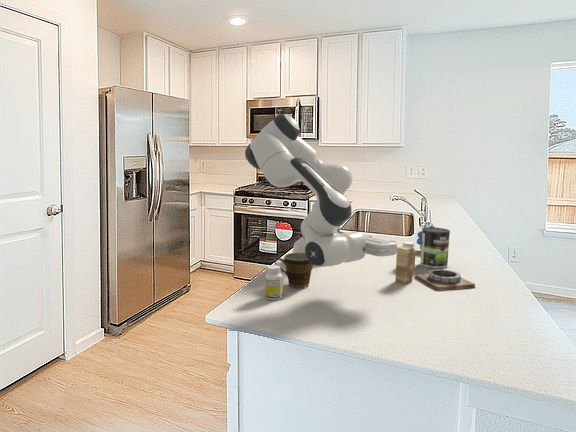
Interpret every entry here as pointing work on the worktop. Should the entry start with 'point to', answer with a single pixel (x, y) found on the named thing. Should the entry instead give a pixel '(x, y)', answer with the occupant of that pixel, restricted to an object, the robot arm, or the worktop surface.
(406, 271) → the oak post
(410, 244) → the supplement bottle
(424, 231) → the coffee can
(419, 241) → the grapes
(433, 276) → the grey stone ring
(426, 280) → the walnut board
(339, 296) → the worktop surface
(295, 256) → the ceramic cup
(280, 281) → the supplement bottle
